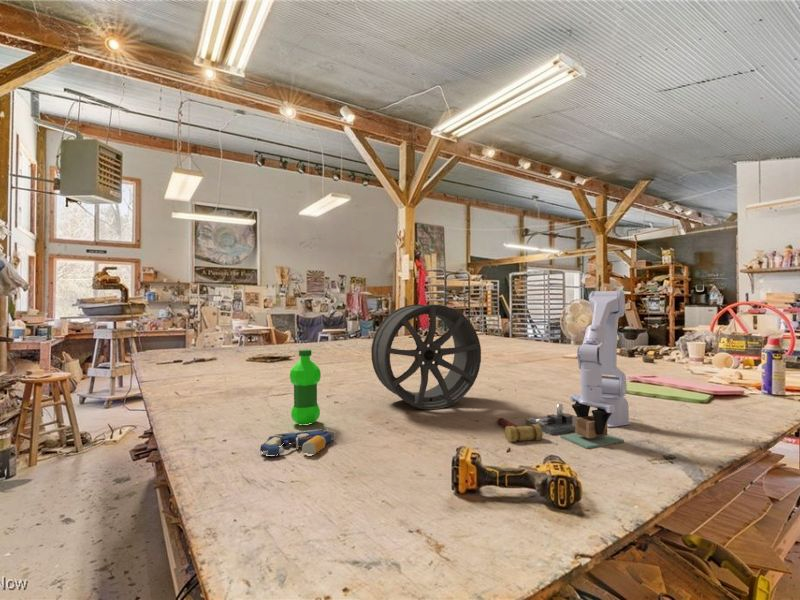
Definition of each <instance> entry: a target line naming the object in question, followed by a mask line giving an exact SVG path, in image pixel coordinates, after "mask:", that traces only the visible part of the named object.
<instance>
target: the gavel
mask: <svg viewBox="0 0 800 600" xmlns="http://www.w3.org/2000/svg"><path fill="white" fill-rule="evenodd" d="M496 422H497V424H498V425H499V426H500V427H502V428H504V437H505V440H506V441H507V442H508V443H517V442H520V441H531V440H533V439H534V441H535V440H536V441H542V440H543V435H544V434H543V433H544V432H543V431H542V429H541V427H540V426H539V425H538V424H534V425H530V426H529V425H524V426H519V425H517V424H515V423H513V422H511V421H509V420H508V419H505V418H503V417H499V418H496ZM517 440H518V441H517Z"/></svg>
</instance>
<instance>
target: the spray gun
mask: <svg viewBox="0 0 800 600" xmlns="http://www.w3.org/2000/svg"><path fill="white" fill-rule="evenodd" d="M332 435H333V438H332ZM331 439H332V440H335V441H336V431H334V430H330V429H329V428H328V427H326V428H320V429H311V430H310V429H309V430H302V431H295V432H284V433H278V434H274V435H270V436H268V438H266V441H265V442H264V443H262V444H261V445H260V448H259V450H260V452H261V451H262V452H263V455H266V454H267V455H277V454H279V455H280V454H284V453H285V450H288V449H290V448H292V447H295V449H296V448H298V445H299V446H302V447H301V450H302V453H303V454H304V453H308V454H316V453H317V452H318V453H320V452H321V451H322V450H321V449H323V448H324V449H325V448H326V444H329V443H330V442H332V441H331ZM329 441H330V442H329ZM283 443H284V444H285V445H286V446H284V445H282V444H283ZM289 443H291V444H289ZM281 445H282V446H281ZM279 446H281V447H279ZM324 449H323V450H324ZM320 450H321V451H320ZM319 451H320V452H319ZM318 453H317V454H318ZM317 454H316V455H317ZM263 455H262V456H263Z"/></svg>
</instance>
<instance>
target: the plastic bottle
mask: <svg viewBox="0 0 800 600" xmlns="http://www.w3.org/2000/svg"><path fill="white" fill-rule="evenodd" d="M298 356H299V357H300V360H299V361H298V362H297V363H296V364H295V365H293V366H292V368H291V369H290V372H289V380H290V382H291V384H292V385H293V406H292V408H291V413H290V414H291V415H290V416H291V417H290V418H291V419H292V421H293V422H295V423H296V424H297V423H298V424H309V423H313V422H314V423H316V422H317V421H318V419H319V418H320V416H321V409H320V406H319V405H318V383H319V382H320V381H321V373H322V372H321V370H320V367H319V366H318V365H317V364H316V363H315V362H314V361H312V360H311V356H312V349H309V348H308V349H305V348H304V349H299V350H298ZM314 423H313V424H314ZM298 424H297V425H298Z"/></svg>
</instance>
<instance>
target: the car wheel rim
mask: <svg viewBox="0 0 800 600" xmlns="http://www.w3.org/2000/svg"><path fill="white" fill-rule="evenodd" d="M422 315H429V327H428V331H427V335H426V336H425V338H424V341H423V339H422V337H421V336H420V334H419V332H417V331H416V329H415V328H414V326H412V324H411V323H410V322H409V321H410V320H413V319H414V318H416V317H418V316H422ZM437 318H438V319H440V320H441V321H442V322H443V323H444V324H445V326H446V327H447V328H448V330H446V332H445V333H443V334H442V335H441V336H439V337H438V338H436V339H435V340H434V338H435V335H436V329H437ZM402 327H405V328H406V329H407V330H408V332H409V334H410V335H411V336H412V338H413V341H414V342H415V345H416V348H415V349H398V348H392V345H393V342H394V340H395V337H396V336H397V334H398V332H399V331H400V329H401V328H402ZM451 337H452V339H453V340H452V341H453V346H454V347H442V348H441V346H443V345H444V344H445V343H446V342H448V340H450V338H451ZM481 347H482V346H481V343H480V338H479V336H478V333H477V330H476V329H475V327H474V325H473V324H472V323H471V321H470V320H469V319H468V318H467V317H466V316H465V315H464V314H463V313H461V312H459V311H458V310H456V309H455V308H452V307H449V306H447V305H441V304H411V305H410V304H409V305H404V306H402V307H399V308H398V309H395V310H393V311H392V312H391V313H389V314H388V315H387V316H386V317H385V318H384V319H383V321H382V322H381V323H380V324H379V326H378V327H377V329H376V331H375V333H374V336H373V339H372V343H371V350H370V351H371V363H372V367H373V371H374V372H375V375H376V377H377V379H378V380H379V382H380V383H381V384H382V385H383V386H384V387H385V388H386V389H387V390H388V391H390V392H391V393H393V394H395V395H396V396H397V397H399V398H400V399H401V400H402V401H403V402H405V403H407V404H408V405H411V406H413V407H414V408H418V409H421V410H431V411H433V410H432V409H434V410H441V409H444V408H447V407H450V406H452V405H454V404H456V403H457V402H458V401H460V400H461V399H462V398H464V397H465V396H466V394H467V393H468V392H469V391H470V390H471V389H472V387H473V386H474V384H475V382H476V380H477V379H478V375H479V372H480V367H481V363H482V360H481V359H482V348H481ZM436 351H437V352H436ZM391 354H392V355H399V356H406V357H413V358H414V360H413V362H412V364H411V365H410V366H409V368H407V370H406V371H405V372H403V373H402V374H401V375H399V376H398V377H396V376H395V374H394V371H393V369H392V363H391ZM448 355H453V361H452V363H451V362H448V361H447V360H445V359H444V358H443V357H444V356H448ZM438 366H441V367H443V368H445V369H447V370H448V371H449V372H447V374H446V376H445V377H443V375H442V373H441V371H440V369H439V367H438ZM419 368H420V385H419V390H418V392H415V391H409V390H407V389H405V388H404V387H403V386H402V385H401V383H402V382H404V381H405V380H407V379H408V378H410V377H411V376H412V375H413V374H415V373H416V372H417V371H418V370H419ZM429 371H430V372H431V374H432V375H433V377H434V378H435V379H436V380H437V383H438V384H436V385H435V386H434V387H432V388H430V389H428V390H427V386H428V382H429Z"/></svg>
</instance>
